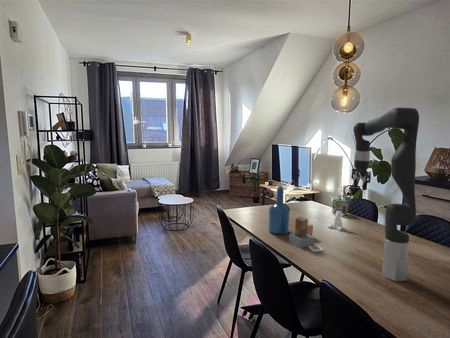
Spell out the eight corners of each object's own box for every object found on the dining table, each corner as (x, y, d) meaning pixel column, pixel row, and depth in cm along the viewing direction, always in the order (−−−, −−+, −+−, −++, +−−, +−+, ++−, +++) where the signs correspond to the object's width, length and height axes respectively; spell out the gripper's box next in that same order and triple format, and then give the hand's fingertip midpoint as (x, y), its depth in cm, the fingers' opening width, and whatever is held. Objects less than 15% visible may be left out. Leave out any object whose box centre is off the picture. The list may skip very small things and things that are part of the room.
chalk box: (347, 216, 232) (349, 197, 230) (335, 215, 232) (336, 196, 230) (343, 212, 241) (344, 194, 239) (331, 212, 241) (332, 194, 239)
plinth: (314, 245, 172) (314, 237, 171) (299, 248, 168) (300, 239, 167) (302, 239, 181) (303, 231, 180) (288, 242, 177) (289, 234, 176)
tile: (323, 250, 164) (323, 249, 164) (313, 251, 163) (313, 250, 163) (318, 246, 169) (318, 245, 169) (308, 247, 169) (308, 245, 168)
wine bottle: (264, 231, 194) (265, 185, 190) (275, 226, 203) (277, 183, 199) (282, 236, 184) (284, 188, 180) (293, 231, 194) (295, 185, 190)
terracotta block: (312, 238, 183) (312, 225, 182) (304, 238, 182) (305, 225, 181) (308, 235, 188) (309, 222, 187) (301, 235, 187) (301, 223, 186)
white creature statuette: (326, 227, 203) (327, 210, 201) (333, 225, 208) (334, 208, 207) (340, 231, 196) (341, 213, 194) (346, 228, 201) (347, 211, 200)
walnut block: (307, 235, 174) (307, 218, 173) (302, 237, 170) (303, 220, 169) (299, 233, 177) (299, 216, 176) (294, 235, 174) (295, 218, 172)
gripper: (348, 158, 172) (346, 186, 174) (363, 160, 158) (361, 191, 160) (360, 158, 173) (358, 186, 175) (376, 160, 159) (374, 191, 161)
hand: (359, 188), depth 168 cm, fingers open, 8 cm apart
